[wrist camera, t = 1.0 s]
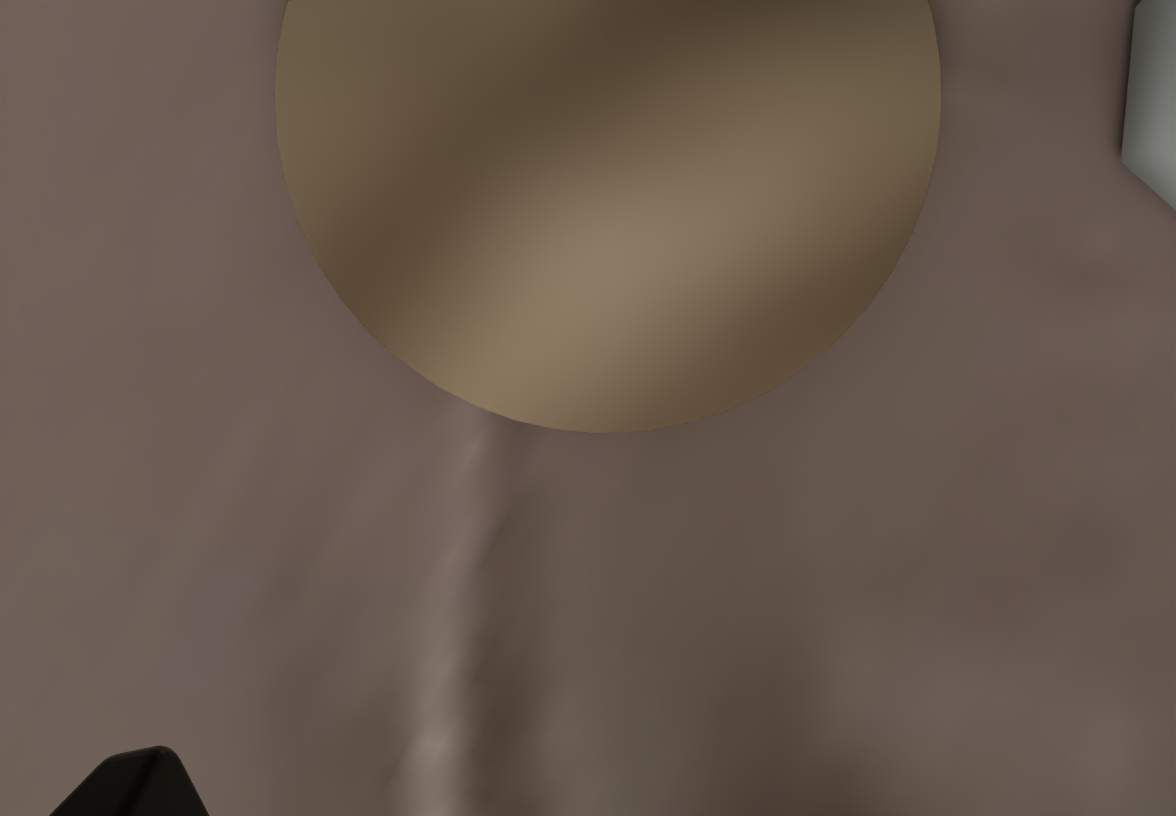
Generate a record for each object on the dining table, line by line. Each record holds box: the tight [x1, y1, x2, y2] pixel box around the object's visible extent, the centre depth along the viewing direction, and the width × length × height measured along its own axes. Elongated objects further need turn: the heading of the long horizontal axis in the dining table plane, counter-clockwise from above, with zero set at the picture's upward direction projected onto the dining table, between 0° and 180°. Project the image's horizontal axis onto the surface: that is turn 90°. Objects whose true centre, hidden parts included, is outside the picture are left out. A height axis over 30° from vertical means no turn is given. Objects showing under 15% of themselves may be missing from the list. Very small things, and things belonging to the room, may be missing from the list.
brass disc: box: [274, 0, 942, 433], centre depth 21 cm, size 12×12×1 cm
